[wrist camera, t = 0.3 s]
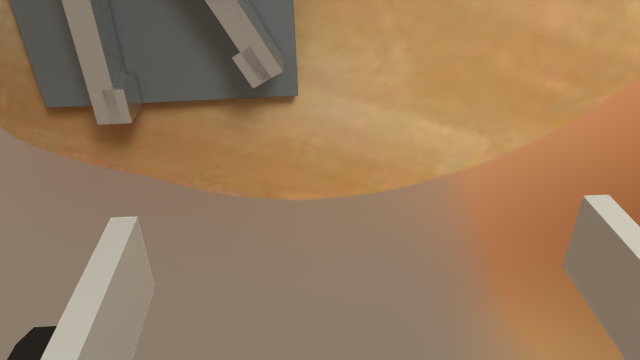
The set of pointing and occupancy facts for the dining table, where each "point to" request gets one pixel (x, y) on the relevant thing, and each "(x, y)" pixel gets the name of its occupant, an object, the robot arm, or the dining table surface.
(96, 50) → the tongs fixed
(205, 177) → the dining table surface
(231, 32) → the tongs jaw
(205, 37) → the board
